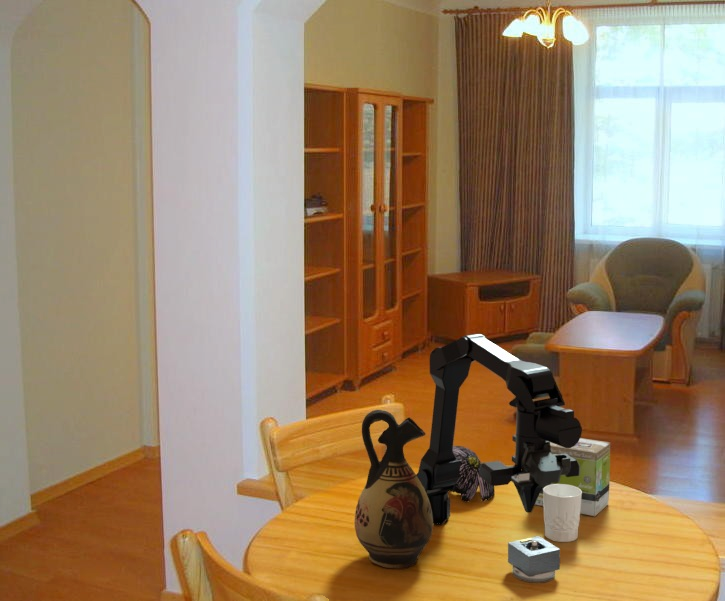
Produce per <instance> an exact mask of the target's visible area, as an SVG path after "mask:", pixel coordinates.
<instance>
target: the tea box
mask: <svg viewBox="0 0 725 601" xmlns="http://www.w3.org/2000/svg"><path fill="white" fill-rule="evenodd" d="M550 445H551V448H550V449H551V453H552V454H564V453H565V454H568V455H569V456H570V457H572V458H574V459H575V460H577V461H578V462H579V465H580V475H579V476H573V477H566V476H565V475H561V477H560V481H559V482H558V483H548V484H547V485H545V486H548V485H552V484H567V485H572V486H575V487H578V488H579V489H581V491H582V497H581V511H580V515H587V516H591V517H596V516H597V515H598V514H599V513H600V512H602V511H603V509H604V508H606V507H607V506H608V505H609V500H610V499H609V498H610V482H611V481H610V477H611V473H610V472H611V470H610V469H611V442H609V441H603V440H596V439H591V438H589V439H588V438H582V437H580V439H579V441H578V442H577V444H576V445H575V446H573V447H571V448H564V447H562V446H559V445H557V444H554V443H551V442H550ZM545 486H544V487H545ZM544 487H543V488H544ZM543 488H542V490H541V492H540V494H539V496H538V498H537V501H536V503H535V505H534V506H540V507H544V505H543Z"/></svg>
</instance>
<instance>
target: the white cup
mask: <svg viewBox="0 0 725 601" xmlns="http://www.w3.org/2000/svg"><path fill="white" fill-rule="evenodd" d="M581 497H582V491H581V489H579V488H578V487H575V486H572V485H567V484H552V485H548V486H545V487H544V488H543V505H544V506H543V523H544V536H545V537H546V538H547V539H548V540H551V541H554V542H560V543H569V542H574V541H576V540H577V539H578V534H579V526H580V519H581V518H580V517H581V513H580V511H581Z"/></svg>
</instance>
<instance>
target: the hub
mask: <svg viewBox="0 0 725 601" xmlns="http://www.w3.org/2000/svg"><path fill="white" fill-rule="evenodd" d="M535 550H539V549H538V548H537V541H536V540H532V547H531V548H530V551H535ZM511 572H512V575H513V577H514V578H516V579H517V580H520V581H523V582H526V583H531V584H532V583H533V584H542V583H543V584H544V583H547V582H550V581H553V580H554V579H555V577H556V570H555V571H551V572H547V573H542V574H538V575H534V576H530V577H528V576H527V575H525V574H524V573H523V572H521V571H520V570H518V569H517V568H515V567H514V566H513V565H512V571H511Z"/></svg>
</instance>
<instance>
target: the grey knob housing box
mask: <svg viewBox="0 0 725 601" xmlns="http://www.w3.org/2000/svg"><path fill="white" fill-rule="evenodd" d="M532 540H536V541H537V548H538V549H539V550H535V551H530V548H531V547H532ZM507 563H508V564H510V566H512V567H513V566H514V567H515V568H517V569H518V570H520V571H521V572H523V573H524V574H525V575H527V576H528V577H530V576H534V575H538V574H542V573H547V572H551V571H555V572H556V571H558V570H560V569H561V548H559V547H557V546H555V545H553V543H550V542H549V541H547V539H544V538H543V537H541V536H539V535H536V536H532V537H529V538H523V539H519V540H513V541H509V542H507Z"/></svg>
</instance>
